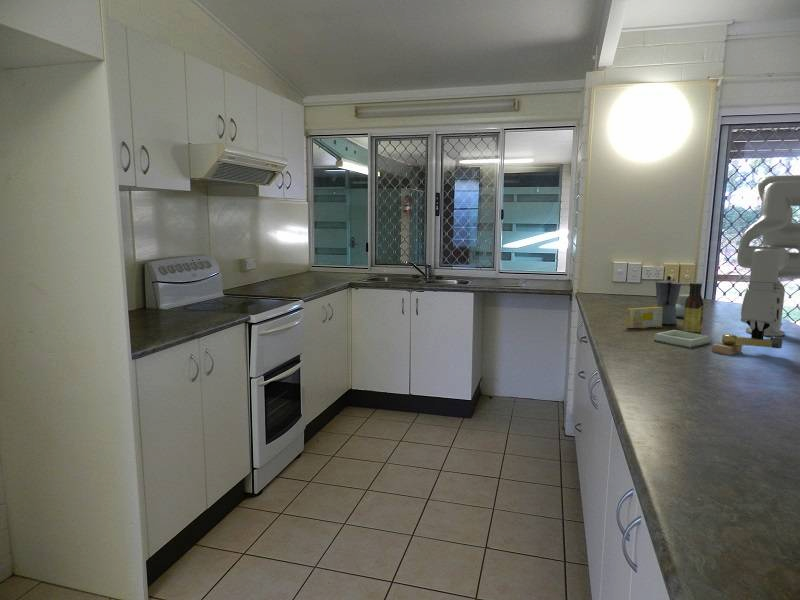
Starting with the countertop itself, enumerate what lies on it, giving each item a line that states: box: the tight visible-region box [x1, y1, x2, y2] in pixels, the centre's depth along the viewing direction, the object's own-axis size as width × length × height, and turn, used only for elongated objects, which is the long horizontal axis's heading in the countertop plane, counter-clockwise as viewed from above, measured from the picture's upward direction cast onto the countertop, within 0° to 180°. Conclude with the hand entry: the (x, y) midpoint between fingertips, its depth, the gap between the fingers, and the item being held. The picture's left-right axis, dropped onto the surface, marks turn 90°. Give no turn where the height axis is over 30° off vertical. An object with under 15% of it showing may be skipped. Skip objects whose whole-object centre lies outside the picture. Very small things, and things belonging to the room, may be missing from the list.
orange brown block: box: [711, 341, 743, 356], centre depth 179 cm, size 8×6×3 cm
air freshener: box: [676, 294, 690, 319], centre depth 243 cm, size 11×8×10 cm
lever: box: [721, 333, 784, 349], centre depth 177 cm, size 17×4×3 cm, turn 66°
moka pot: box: [655, 275, 682, 325], centre depth 226 cm, size 10×15×20 cm, turn 161°
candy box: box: [626, 306, 663, 329], centre depth 218 cm, size 16×2×8 cm, turn 108°
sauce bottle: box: [682, 282, 705, 335], centre depth 204 cm, size 7×6×20 cm
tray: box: [653, 329, 711, 348], centre depth 193 cm, size 13×13×2 cm
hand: (756, 341), depth 179 cm, fingers closed
